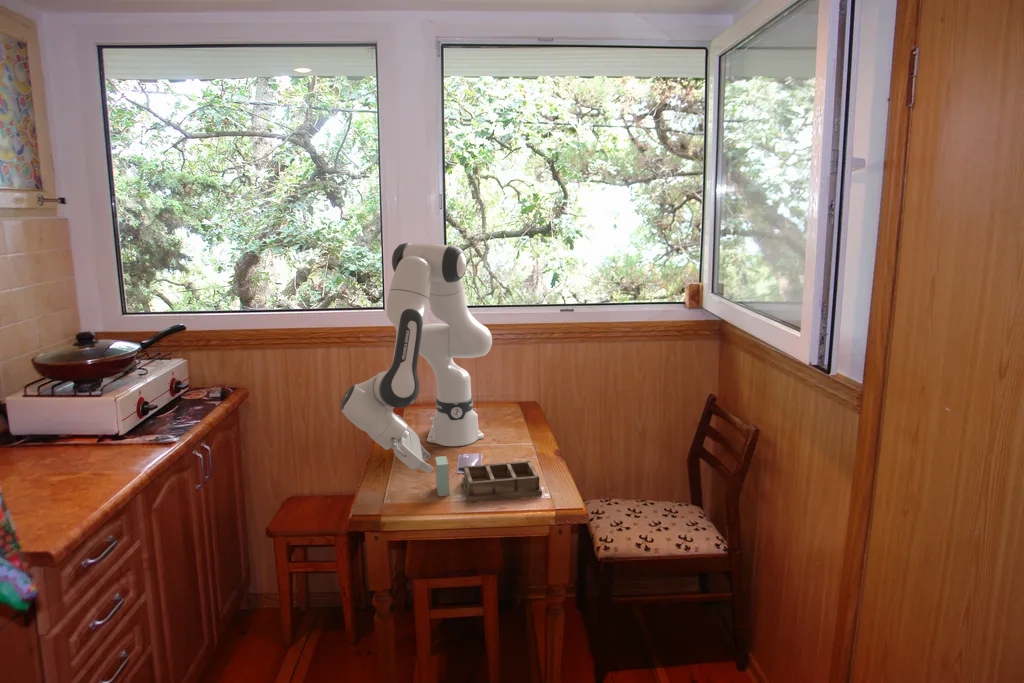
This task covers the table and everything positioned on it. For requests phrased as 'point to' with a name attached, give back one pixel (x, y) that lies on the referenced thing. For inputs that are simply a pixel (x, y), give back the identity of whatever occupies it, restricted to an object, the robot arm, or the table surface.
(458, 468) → the mobile phone
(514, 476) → the walnut rack
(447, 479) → the sage block
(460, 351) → the robot arm
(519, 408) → the table surface
